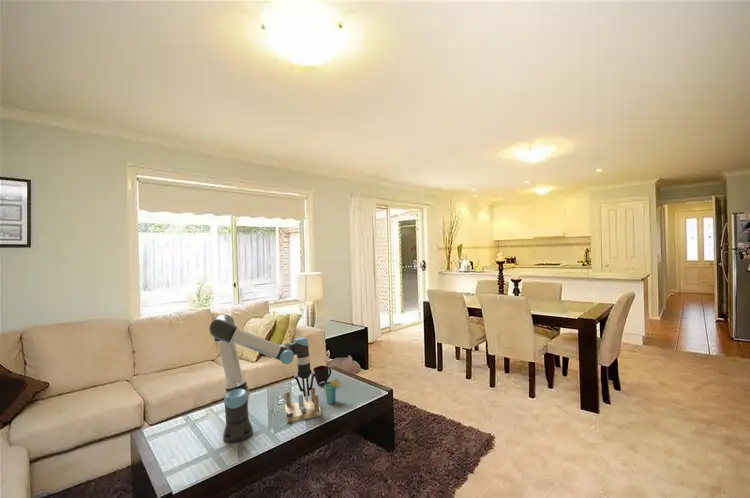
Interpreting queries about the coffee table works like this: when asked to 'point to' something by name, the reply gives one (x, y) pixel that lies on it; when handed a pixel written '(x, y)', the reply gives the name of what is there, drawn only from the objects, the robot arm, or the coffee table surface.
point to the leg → (301, 403)
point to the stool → (295, 412)
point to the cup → (331, 390)
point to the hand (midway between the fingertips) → (307, 401)
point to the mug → (322, 374)
